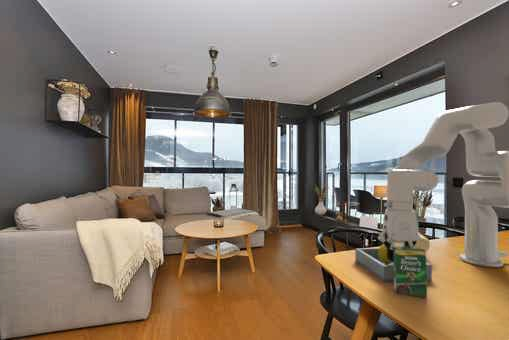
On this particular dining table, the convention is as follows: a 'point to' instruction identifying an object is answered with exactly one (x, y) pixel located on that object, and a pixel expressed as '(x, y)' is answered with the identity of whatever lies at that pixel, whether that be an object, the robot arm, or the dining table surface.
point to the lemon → (383, 255)
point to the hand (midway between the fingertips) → (399, 259)
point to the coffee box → (410, 271)
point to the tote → (380, 264)
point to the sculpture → (420, 243)
